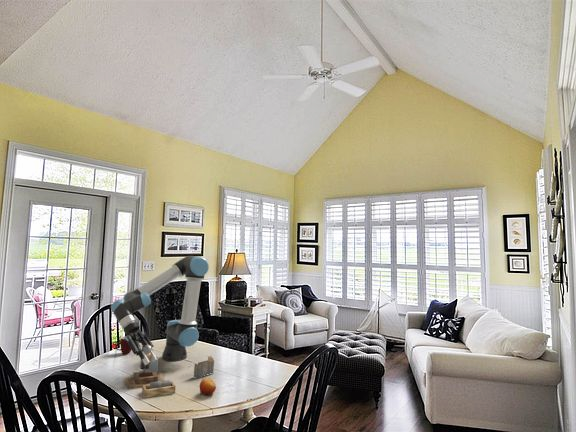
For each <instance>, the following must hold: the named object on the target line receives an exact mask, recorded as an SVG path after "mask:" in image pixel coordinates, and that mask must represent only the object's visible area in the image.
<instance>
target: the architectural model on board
mask: <svg viewBox="0 0 576 432" xmlns="http://www.w3.org/2000/svg"><path fill="white" fill-rule="evenodd" d="M214 368H215V359H214V358H213V356H212V355H210V356H207V360H203V361H200V362H198V363H194V368H193V378H194V377H196V378H197V379H199V378H198V377H200V378H202V377H201V376H204V375H207V374H210V373H213V374H214ZM210 375H211V374H210ZM207 376H208V375H207ZM204 377H205V376H204ZM196 378H195V379H196Z"/></svg>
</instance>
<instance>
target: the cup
mask: <svg viewBox="0 0 576 432" xmlns="http://www.w3.org/2000/svg"><path fill="white" fill-rule="evenodd" d="M155 356H156V355H155ZM156 358H157V360H156V361H155V362H152V360H151V359H150V368H149V369H144V371H152V370H155V371H156V373H158V370H159V358H158V356H156Z"/></svg>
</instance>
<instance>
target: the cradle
mask: <svg viewBox="0 0 576 432" xmlns="http://www.w3.org/2000/svg"><path fill="white" fill-rule="evenodd" d="M132 375H133V376H127V377H124V381H125V385H126V390H132V389H137V388H143V385H148V384H150V382H157V381H165V380H166V379H165V378H164V376H163V374H162V372H159V373H158V372H156V371H155V370H152V371H145V370H143V371H136V372H133V374H132Z"/></svg>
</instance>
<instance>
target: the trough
mask: <svg viewBox="0 0 576 432" xmlns="http://www.w3.org/2000/svg"><path fill="white" fill-rule="evenodd" d="M164 380H165V381H157V382H150V384H148V385H143V387H141V388H142V389H141V393H142V396H143V398H151V397H158V396H165V395H172V394H176V384H175V383H174V381H173V380H172V381H171V380H170V379H164Z"/></svg>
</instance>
